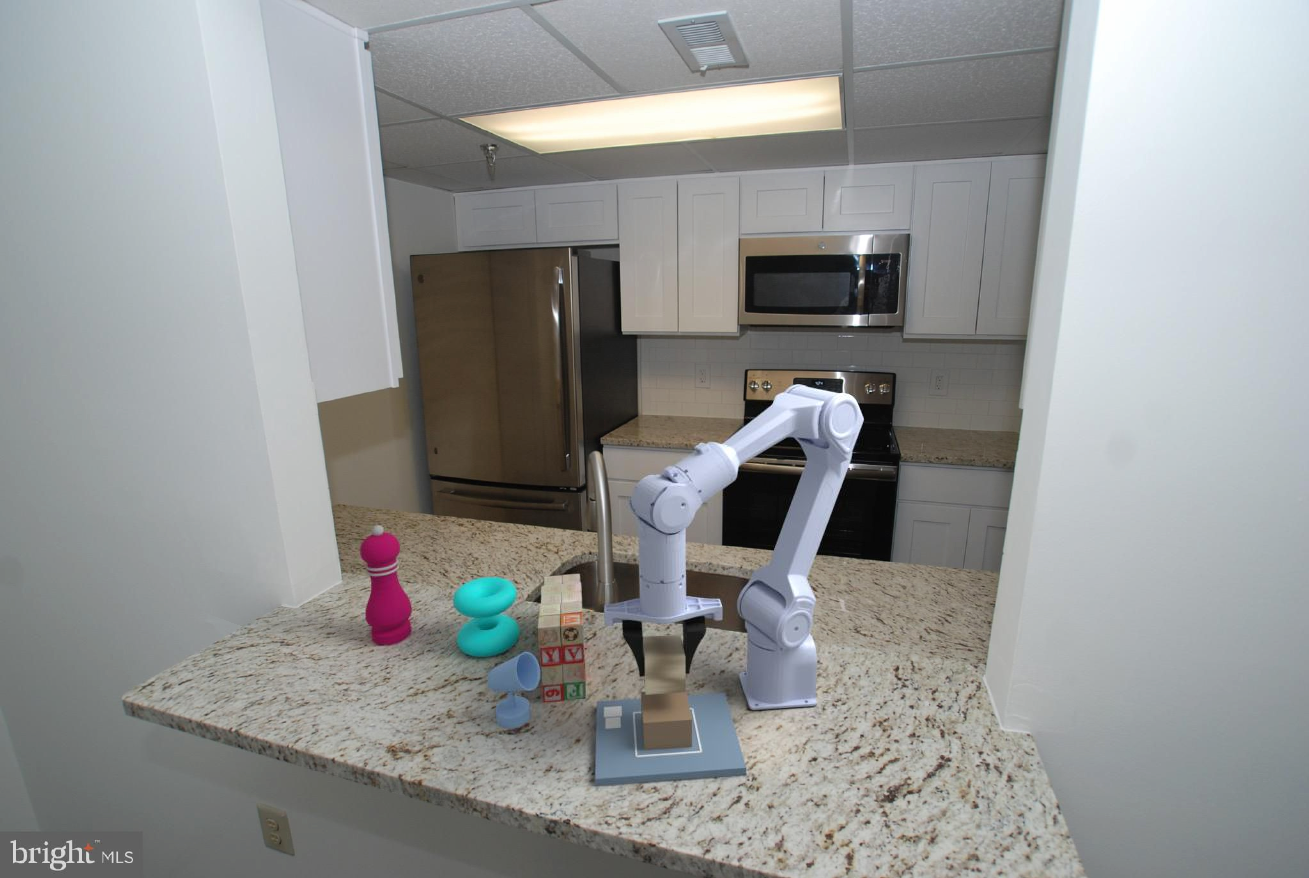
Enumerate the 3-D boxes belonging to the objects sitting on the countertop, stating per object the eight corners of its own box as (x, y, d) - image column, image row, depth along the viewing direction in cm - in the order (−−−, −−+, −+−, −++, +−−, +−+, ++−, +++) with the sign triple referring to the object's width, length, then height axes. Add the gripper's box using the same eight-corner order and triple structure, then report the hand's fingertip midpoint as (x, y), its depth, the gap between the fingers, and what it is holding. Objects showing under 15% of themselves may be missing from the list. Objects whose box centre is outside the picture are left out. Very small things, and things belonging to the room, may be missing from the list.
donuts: (454, 577, 104) (515, 570, 106) (460, 631, 107) (519, 623, 109) (449, 607, 95) (516, 598, 97) (455, 664, 97) (521, 655, 99)
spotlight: (547, 710, 86) (503, 701, 88) (542, 646, 84) (497, 639, 86) (530, 734, 82) (484, 724, 84) (525, 668, 79) (477, 659, 81)
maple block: (681, 668, 82) (680, 634, 81) (685, 692, 78) (685, 656, 76) (643, 670, 82) (642, 636, 81) (645, 694, 77) (644, 659, 76)
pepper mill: (404, 647, 102) (389, 534, 97) (361, 647, 102) (343, 534, 97) (421, 623, 109) (407, 516, 104) (380, 624, 109) (365, 517, 104)
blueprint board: (724, 698, 88) (724, 667, 87) (746, 774, 75) (746, 739, 73) (597, 707, 87) (595, 675, 86) (595, 785, 73) (593, 750, 72)
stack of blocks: (547, 624, 108) (543, 559, 105) (583, 621, 109) (580, 556, 106) (542, 704, 88) (537, 626, 85) (587, 700, 89) (583, 622, 86)
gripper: (715, 556, 80) (715, 649, 84) (603, 561, 79) (607, 655, 83) (725, 581, 73) (724, 682, 77) (602, 587, 72) (606, 688, 76)
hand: (664, 670), depth 79 cm, fingers closed on maple block, 5 cm apart
